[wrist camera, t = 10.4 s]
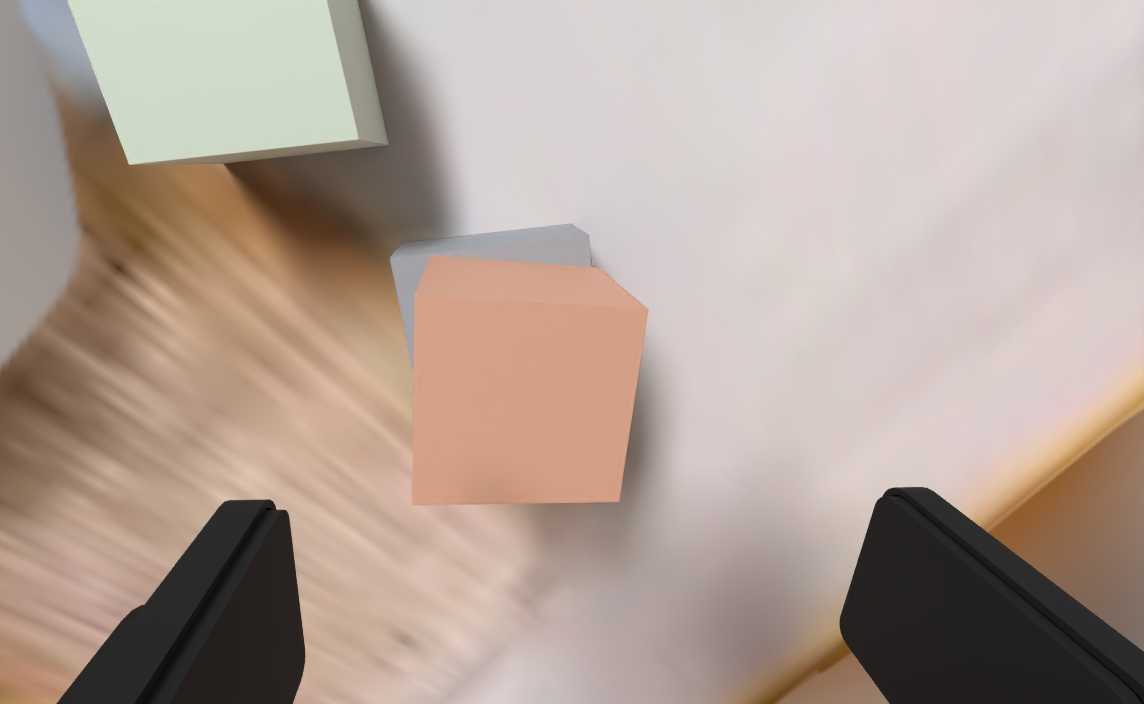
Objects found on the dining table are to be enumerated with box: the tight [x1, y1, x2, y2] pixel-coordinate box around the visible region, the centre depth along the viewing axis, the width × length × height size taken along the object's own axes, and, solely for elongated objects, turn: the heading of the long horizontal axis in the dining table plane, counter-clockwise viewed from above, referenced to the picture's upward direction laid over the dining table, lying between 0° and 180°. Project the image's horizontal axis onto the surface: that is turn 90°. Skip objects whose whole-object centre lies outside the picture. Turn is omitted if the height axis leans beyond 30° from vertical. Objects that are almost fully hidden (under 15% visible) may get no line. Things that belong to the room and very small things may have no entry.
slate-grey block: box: [390, 224, 591, 374], centre depth 22 cm, size 7×7×4 cm
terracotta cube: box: [412, 255, 648, 505], centre depth 18 cm, size 6×6×6 cm
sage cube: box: [68, 0, 389, 165], centre depth 17 cm, size 6×6×6 cm
